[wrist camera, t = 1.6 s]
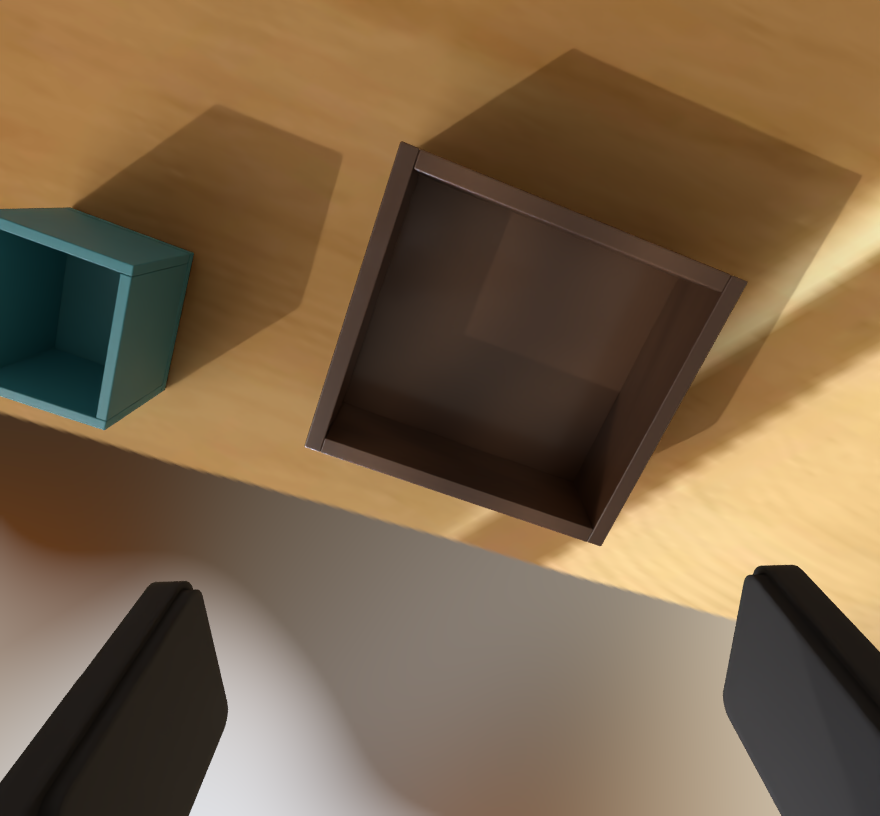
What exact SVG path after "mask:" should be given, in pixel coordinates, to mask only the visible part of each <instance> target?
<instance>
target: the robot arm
mask: <svg viewBox="0 0 880 816" xmlns="http://www.w3.org/2000/svg"><path fill="white" fill-rule="evenodd" d="M723 701H724V706H725V710H726V713H727V715H728V717H729V719H730V721H731V723H732V725H733V727H734V729H735V731H736V732H737V734H738V736H739V738H740V740H741V741H742V743H743V745H744V747H745V749H746V751H747V753H748V755H749V756H750V758H751V760H752V762H753V764H754V766H755V768H756V769H757V771H758V773H759V775H760V777H761V779H762V780H763V782H764V784H765V786H766V788H767V790H768V792H769V793H770V795H771V797H772V799H773V801H774V803H775V805H776V806H777V808H778V810H779V812H780V814H781V816H880V652H879V651H878V650H877V649H876V647H875V646H874V645H873V644H872V643H871V642H870V641H869V640H868V639H867V638H866V637H865V636H864V635H863V634H862V633H861V632H860V631H859V630H858V628H857V627H856V626H855V625H854V624H853V623H852V622H851V621H850V620H849V619H848V618H847V617H846V616H845V615H844V614H843V613H842V612H841V610H840V609H839V608H838V607H837V606H836V605H835V604H834V603H833V602H832V601H831V600H830V599H829V598H828V597H827V596H826V595H825V594H824V592H823V591H822V590H821V589H820V588H819V587H818V586H817V585H816V584H815V583H814V582H813V581H812V580H811V579H810V578H809V577H808V576H807V575H806V573H805V572H804V571H803V570H802V569H800V568H799V567H798V566H795V565H770V566H759V567H757V568H756V569H755V570H754V573H753V575H748V576H747V577H746V578H745V580H744V584H743V590H742V595H741V600H740V605H739V611H738V616H737V621H736V627H735V632H734V637H733V643H732V649H731V654H730V659H729V664H728V670H727V675H726V680H725V685H724V690H723ZM227 714H228V705H227V699H226V695H225V691H224V686H223V682H222V678H221V673H220V669H219V665H218V660H217V656H216V652H215V647H214V643H213V639H212V635H211V630H210V626H209V622H208V617H207V613H206V608H205V605H204V600H203V596H202V593H201V592H200V591H199V590H193V588H192V585H191V584H190V583H189V582H187V581H179V582H178V581H174V582H154V583H152V584H150V585H149V586H148V587H147V589H146V590H145V591H144V593H143V594H142V595H141V597H140V598H139V599H138V601H137V602H136V603H135V605H134V606H133V607H132V609H131V610H130V611H129V613H128V614H127V615H126V617H125V618H124V619H123V621H122V622H121V623H120V625H119V626H118V628H117V629H116V630H115V631H114V633H113V634H112V635H111V637H110V638H109V639H108V641H107V642H106V643H105V645H104V646H103V647H102V649H101V650H100V651H99V653H98V654H97V655H96V657H95V658H94V659H93V661H92V662H91V664H90V665H89V666H88V667H87V669H86V670H85V671H84V673H83V674H82V675H81V676H80V677H79V679H78V680H77V681H76V683H75V684H74V685H73V687H72V688H71V689H70V690H69V692H68V693H67V695H66V696H65V697H64V698H63V700H62V702H60V704H59V705H58V706H57V708H56V709H55V710H54V712H53V713H52V714H51V716H50V717H49V718H48V720H47V721H46V722H45V724H44V725H43V726H42V728H41V729H40V730H39V732H38V733H37V734H36V736H35V737H34V739H33V740H32V741H31V742H30V744H29V745H28V746H27V748H26V749H25V750H24V752H23V753H22V754H21V756H20V757H19V759H18V760H17V761H16V762H15V764H14V765H13V766H12V768H11V769H10V770H9V772H8V773H7V774H6V776H5V777H4V778H3V780H2V781H1V782H0V816H189V813H190V811H191V809H192V806H193V804H194V801H195V799H196V796H197V794H198V791H199V789H200V787H201V784H202V782H203V779H204V777H205V774H206V772H207V770H208V767H209V765H210V762H211V760H212V757H213V755H214V753H215V750H216V748H217V745H218V742H219V740H220V738H221V735H222V733H223V731H224V728H225V725H226V721H227Z"/></svg>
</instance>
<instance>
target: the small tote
mask: <svg viewBox="0 0 880 816" xmlns="http://www.w3.org/2000/svg"><path fill="white" fill-rule="evenodd" d="M193 255H194V253H193V252H190V251H187V250H184V249H182V248H179V247H176V246H174V245H171V244H168V243H165V242H163V241H160V240H157V239H155V238H152V237H149V236H146V235H144V234H141V233H138V232H136V231H133V230H130V229H127V228H125V227H122V226H119V225H116V224H114V223H111V222H108V221H106V220H103V219H100V218H97V217H95V216H92V215H89V214H87V213H84V212H81V211H78V210H76V209H73V208H28V209H0V396H2V397H5V398H8V399H11V400H14V401H17V402H20V403H23V404H26V405H29V406H32V407H35V408H38V409H41V410H44V411H47V412H50V413H54V414H57V415H60V416H63V417H66V418H69V419H72V420H75V421H78V422H81V423H84V424H87V425H90V426H93V427H96V428H99V429H102V430H106V429H107V428H109V427H110V426H112V425H113V424H115V423H116V422H118V421H119V420H120V419H122V418H123V417H125V416H126V415H128V414H129V413H131V412H132V411H134V410H135V409H137V408H138V407H140V406H141V405H143V404H144V403H146V402H147V401H149V400H150V399H152V398H153V397H155V396H156V395H158V394H159V393H161V392H162V391H164V390H165V387H166V382H167V378H168V373H169V368H170V364H171V359H172V354H173V350H174V345H175V340H176V335H177V331H178V326H179V321H180V317H181V312H182V307H183V302H184V298H185V293H186V288H187V284H188V279H189V274H190V269H191V265H192V260H193Z"/></svg>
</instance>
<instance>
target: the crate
mask: <svg viewBox="0 0 880 816" xmlns="http://www.w3.org/2000/svg"><path fill="white" fill-rule="evenodd" d="M746 285H747V281H745V280H742V279H740V278H738V277H735V276H732V275H730V274H728V273H725V272H723V271H720V270H718V269H715V268H713V267H710V266H708V265H705V264H703V263H701V262H698V261H696V260H693V259H691V258H688V257H686V256H683V255H681V254H678V253H676V252H673V251H671V250H668V249H666V248H664V247H661V246H659V245H656V244H654V243H651V242H649V241H646V240H644V239H641V238H639V237H636V236H634V235H632V234H629V233H627V232H624V231H622V230H619V229H617V228H614V227H612V226H609V225H607V224H604V223H602V222H600V221H597V220H595V219H592V218H590V217H587V216H585V215H582V214H580V213H577V212H575V211H572V210H570V209H568V208H565V207H563V206H560V205H558V204H555V203H553V202H550V201H548V200H545V199H543V198H540V197H538V196H535V195H533V194H531V193H528V192H526V191H523V190H521V189H518V188H516V187H513V186H511V185H508V184H506V183H503V182H501V181H499V180H496V179H494V178H491V177H489V176H486V175H484V174H481V173H479V172H476V171H474V170H471V169H469V168H467V167H464V166H462V165H459V164H457V163H454V162H452V161H449V160H447V159H444V158H442V157H439V156H437V155H435V154H432V153H430V152H427V151H425V150H422V149H419V148H417V147H415V146H412V145H410V144H407V143H405V142H403V141H401V142H400V145H399V148H398V151H397V155H396V158H395V161H394V164H393V167H392V170H391V174H390V177H389V180H388V183H387V186H386V189H385V193H384V196H383V199H382V202H381V205H380V208H379V212H378V215H377V218H376V221H375V224H374V227H373V231H372V234H371V237H370V240H369V243H368V246H367V250H366V253H365V256H364V259H363V262H362V265H361V269H360V272H359V275H358V278H357V281H356V284H355V288H354V291H353V294H352V297H351V300H350V303H349V307H348V310H347V313H346V316H345V319H344V322H343V326H342V329H341V332H340V335H339V338H338V341H337V345H336V348H335V351H334V354H333V357H332V360H331V364H330V367H329V370H328V373H327V376H326V379H325V383H324V386H323V389H322V392H321V395H320V398H319V402H318V405H317V408H316V411H315V414H314V417H313V421H312V424H311V427H310V430H309V433H308V436H307V440H306V443H305V447H307V448H310V449H313V450H316V451H319V452H320V451H321V452H322V453H324V454H327V455H330V456H333V457H336V458H339V459H342V460H345V461H348V462H351V463H354V464H357V465H360V466H363V467H366V468H369V469H372V470H375V471H378V472H381V473H384V474H387V475H390V476H393V477H396V478H399V479H402V480H405V481H408V482H411V483H414V484H417V485H419V486H422V487H425V488H428V489H431V490H434V491H437V492H440V493H443V494H446V495H449V496H452V497H455V498H458V499H461V500H464V501H467V502H470V503H473V504H476V505H479V506H482V507H485V508H488V509H491V510H494V511H497V512H500V513H503V514H506V515H509V516H511V517H514V518H517V519H520V520H523V521H526V522H529V523H532V524H535V525H538V526H541V527H544V528H547V529H550V530H553V531H556V532H559V533H562V534H565V535H568V536H571V537H574V538H577V539H580V540H583V541H586V542H589V543H592V544H595V545H598V546H601V545H602V544H603V542H604V540H605V538H606V536H607V535H608V533H609V531H610V529H611V527H612V526H613V524H614V522H615V520H616V518H617V517H618V515H619V513H620V511H621V509H622V508H623V506H624V504H625V502H626V500H627V499H628V497H629V495H630V493H631V491H632V490H633V488H634V486H635V484H636V482H637V481H638V479H639V477H640V475H641V473H642V472H643V470H644V468H645V466H646V464H647V463H648V461H649V459H650V457H651V456H652V454H653V452H654V450H655V448H656V447H657V445H658V443H659V441H660V439H661V438H662V436H663V434H664V432H665V430H666V429H667V427H668V425H669V423H670V421H671V420H672V418H673V416H674V414H675V412H676V411H677V409H678V407H679V405H680V403H681V402H682V400H683V398H684V396H685V394H686V393H687V391H688V389H689V387H690V385H691V384H692V382H693V380H694V378H695V376H696V375H697V373H698V371H699V369H700V367H701V366H702V364H703V362H704V360H705V358H706V357H707V355H708V353H709V351H710V349H711V348H712V346H713V344H714V342H715V340H716V339H717V337H718V335H719V333H720V331H721V330H722V328H723V326H724V324H725V322H726V321H727V319H728V317H729V315H730V313H731V312H732V310H733V308H734V306H735V304H736V303H737V301H738V299H739V297H740V295H741V294H742V292H743V290H744V288H745V287H746Z"/></svg>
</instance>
